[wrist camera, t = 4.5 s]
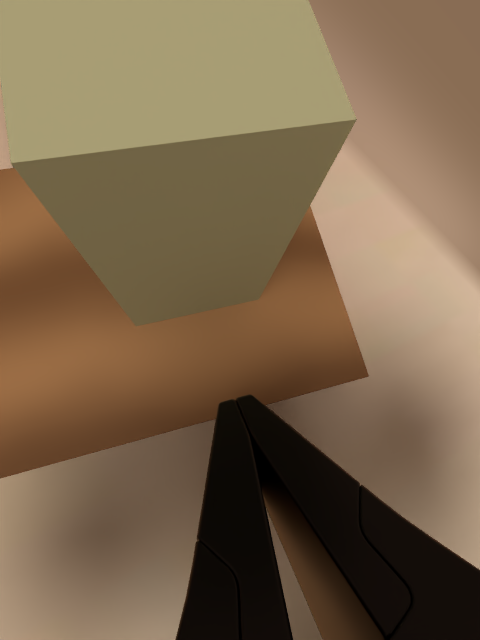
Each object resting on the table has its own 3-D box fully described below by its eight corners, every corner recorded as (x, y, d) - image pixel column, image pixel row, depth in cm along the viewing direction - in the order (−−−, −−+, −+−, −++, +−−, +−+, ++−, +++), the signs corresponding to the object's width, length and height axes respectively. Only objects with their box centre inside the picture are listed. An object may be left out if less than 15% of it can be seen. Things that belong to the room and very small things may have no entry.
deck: (343, 381, 16) (369, 376, 14) (28, 467, 14) (-8, 480, 11) (274, 168, 19) (285, 132, 16) (-1, 209, 16) (-35, 174, 14)
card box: (258, 299, 14) (356, 118, 5) (135, 326, 13) (10, 163, 4) (217, 157, 15) (242, -163, 7) (105, 173, 15) (-31, -172, 6)
